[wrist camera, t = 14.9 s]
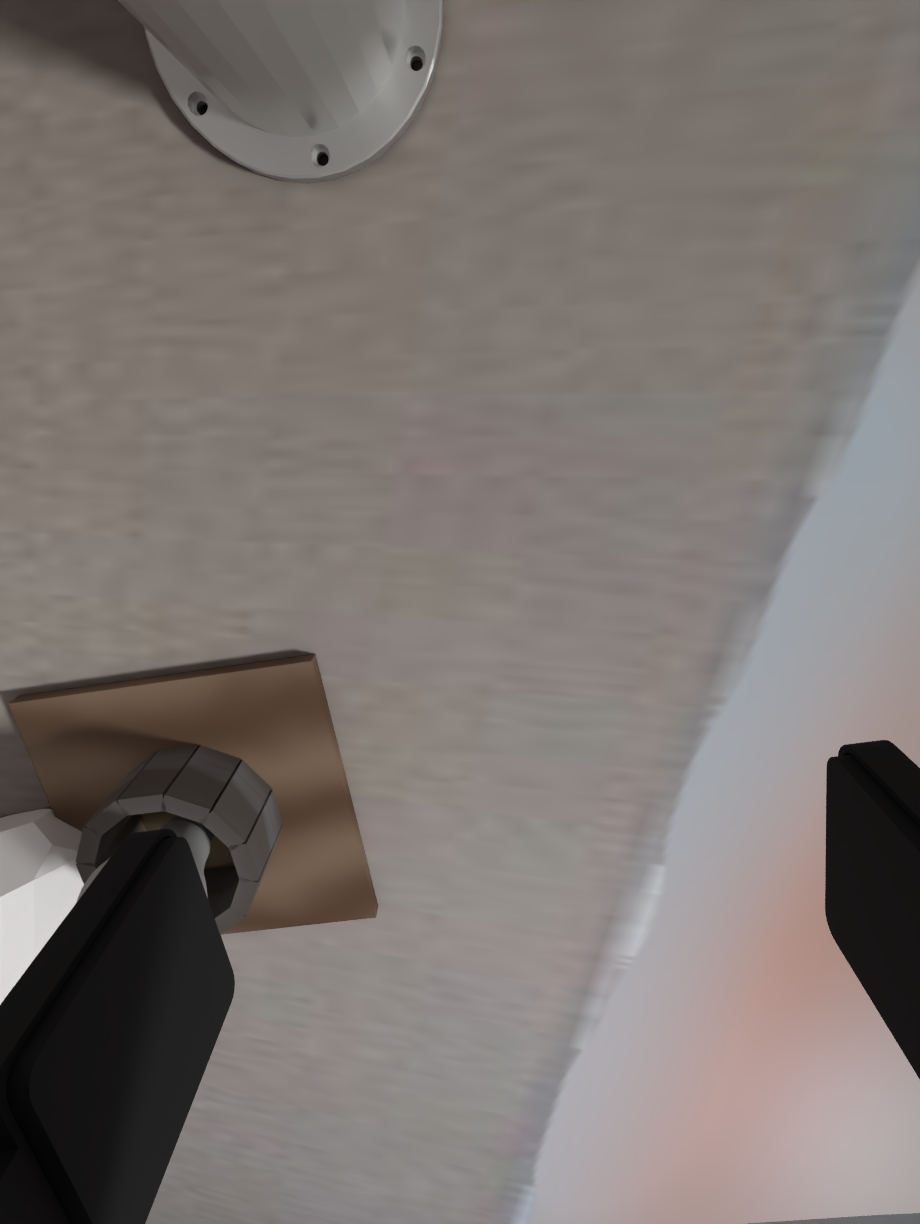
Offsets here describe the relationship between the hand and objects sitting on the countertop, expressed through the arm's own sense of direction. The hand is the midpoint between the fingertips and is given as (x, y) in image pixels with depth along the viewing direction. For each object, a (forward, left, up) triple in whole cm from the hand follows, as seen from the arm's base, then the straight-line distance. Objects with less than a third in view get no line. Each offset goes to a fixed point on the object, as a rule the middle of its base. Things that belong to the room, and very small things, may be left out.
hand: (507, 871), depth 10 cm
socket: (+16, -20, -28) cm, 38 cm away
